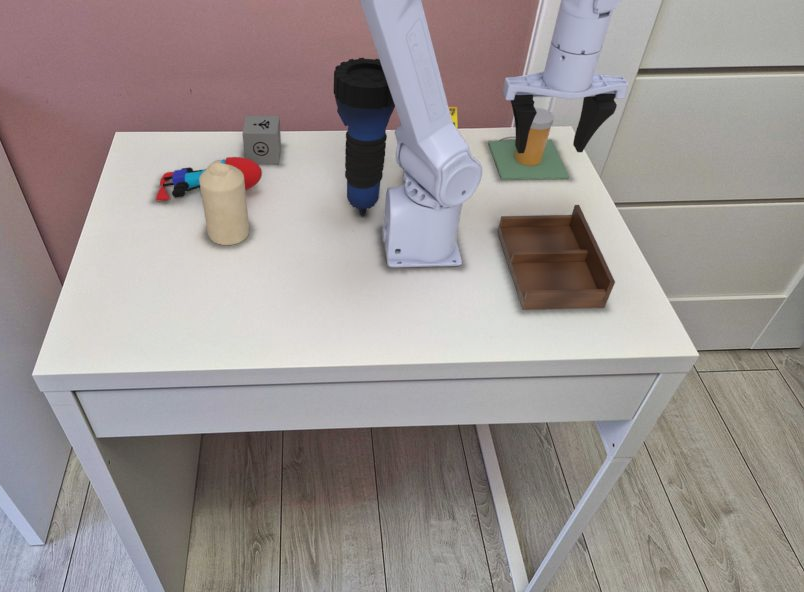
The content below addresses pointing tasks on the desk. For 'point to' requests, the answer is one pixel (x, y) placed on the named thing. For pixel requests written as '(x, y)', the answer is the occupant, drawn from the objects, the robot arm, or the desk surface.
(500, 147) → the green mat
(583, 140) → the robot arm
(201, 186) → the candle
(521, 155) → the disc
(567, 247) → the tray
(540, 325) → the desk surface
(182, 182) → the toy figure
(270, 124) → the dice cube
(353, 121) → the flashlight
